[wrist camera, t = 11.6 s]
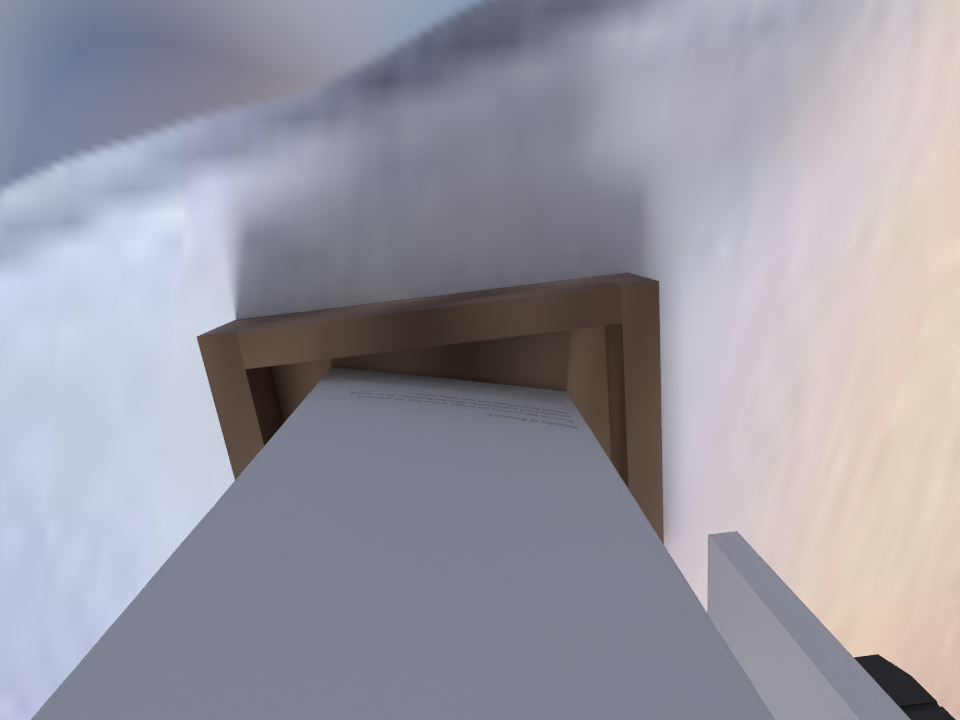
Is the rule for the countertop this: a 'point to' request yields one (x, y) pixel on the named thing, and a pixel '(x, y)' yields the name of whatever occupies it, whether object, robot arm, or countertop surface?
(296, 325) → the brown wooden tray
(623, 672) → the supplement box
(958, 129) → the countertop surface
